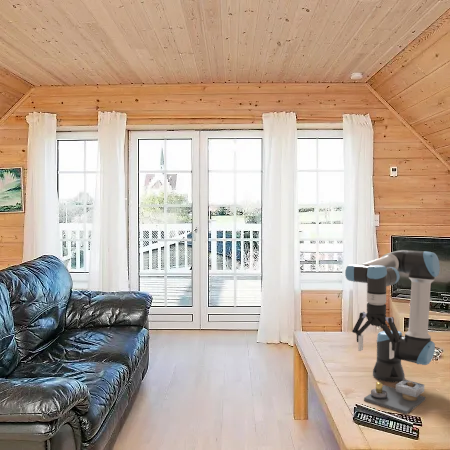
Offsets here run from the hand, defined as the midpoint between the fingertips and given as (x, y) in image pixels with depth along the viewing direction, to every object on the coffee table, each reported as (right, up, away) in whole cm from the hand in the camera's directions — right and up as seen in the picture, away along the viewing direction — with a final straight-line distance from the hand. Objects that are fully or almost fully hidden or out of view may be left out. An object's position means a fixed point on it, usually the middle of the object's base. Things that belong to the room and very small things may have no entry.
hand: (375, 354), depth 188 cm
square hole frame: (+20, -20, +14) cm, 31 cm away
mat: (+13, -25, +14) cm, 31 cm away
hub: (+7, -23, +15) cm, 29 cm away
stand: (+20, -23, +14) cm, 33 cm away
